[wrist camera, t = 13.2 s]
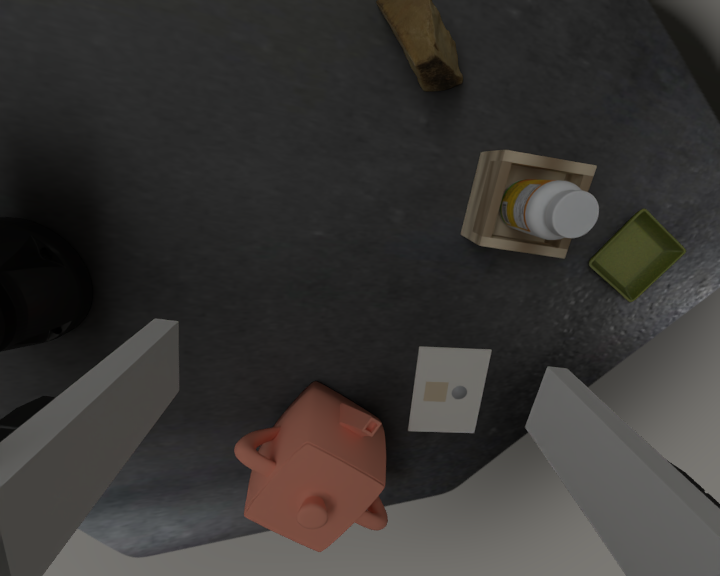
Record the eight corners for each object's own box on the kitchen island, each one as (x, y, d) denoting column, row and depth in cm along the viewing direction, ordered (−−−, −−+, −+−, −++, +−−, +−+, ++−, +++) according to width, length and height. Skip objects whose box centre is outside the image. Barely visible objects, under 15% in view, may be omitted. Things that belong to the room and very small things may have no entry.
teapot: (350, 494, 57) (351, 594, 43) (228, 429, 52) (188, 520, 38) (431, 409, 52) (460, 492, 39) (305, 329, 47) (290, 392, 34)
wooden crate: (460, 234, 43) (479, 245, 37) (480, 152, 40) (505, 149, 34) (534, 245, 44) (564, 258, 38) (559, 165, 41) (597, 165, 35)
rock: (345, -18, 33) (364, 98, 35) (412, -91, 26) (430, 57, 28) (424, 6, 39) (436, 103, 41) (494, -48, 32) (505, 71, 34)
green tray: (619, 298, 47) (631, 304, 45) (577, 260, 45) (587, 264, 43) (673, 247, 45) (687, 251, 43) (630, 205, 43) (644, 206, 41)
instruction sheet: (407, 430, 53) (408, 431, 52) (419, 346, 48) (419, 347, 48) (473, 432, 53) (474, 433, 53) (491, 349, 49) (491, 350, 49)
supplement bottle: (555, 196, 39) (621, 204, 30) (523, 238, 40) (577, 258, 31) (518, 168, 38) (575, 167, 28) (486, 212, 39) (531, 225, 30)
